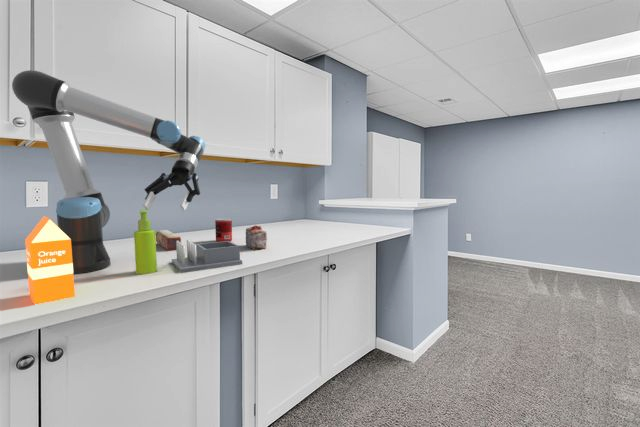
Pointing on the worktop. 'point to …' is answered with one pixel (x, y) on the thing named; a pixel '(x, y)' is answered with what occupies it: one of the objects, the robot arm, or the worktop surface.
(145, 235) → the soap dispenser
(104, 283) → the worktop surface
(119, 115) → the robot arm
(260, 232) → the food item
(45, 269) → the orange juice
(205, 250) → the dish rack
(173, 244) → the snack package
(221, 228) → the canned food
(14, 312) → the worktop surface
